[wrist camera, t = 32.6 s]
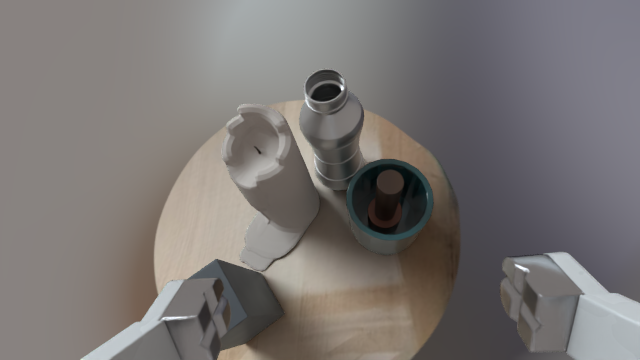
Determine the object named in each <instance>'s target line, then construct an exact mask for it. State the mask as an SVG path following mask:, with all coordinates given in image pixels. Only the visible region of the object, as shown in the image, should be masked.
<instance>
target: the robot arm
mask: <svg viewBox="0 0 640 360" xmlns="http://www.w3.org/2000/svg"><path fill="white" fill-rule="evenodd" d="M502 270H503V271H504V273H505V274H506V277H505V278H504V279H503V280H502V281H501V283H500V295H501V300H502V304H503V306H504V309H505V311H506V312H507V314H508V316H509V317H510V318H512V319H513V320H515V321H517V322H518V327H517V331H518V333H519V335H520V336H521V338H522V340H523V341H524V343H525V344H526V346H527V348H528V349H529V351H530V352H564V351H565V352H567V354H568V355H570V356H571V357H572V358H573V359H575V360H640V303H638V302H636V301H634V300H631V299H629V298H627V297H625V296H622V295H620V294H618V293H612V294H611V293H609V292H608V291H607V290H606V289H605V288H604V287H603V286H602V285H601V284H600V283H599V282H598V281H597V280H596V279H595V278H593V277H592V275H590V274H589V273H588V272H587V271H586V270H585V269H584V268H583V267H582V266H581V265H580V264H579V263H578V262H577V261H576V260H575V259H574V258H573V257H572V256H571V255H570V254H568V253H566V252H554V253H544V254H540V255H539V254H538V255H525V256H512V257H505V258H504V260H503V265H502ZM224 289H225V288H224V285H223V282H222V279H220V278H202V279H187V280H172V281H170V282H168V283H167V284H166V285H165V287H164V288H163V290H162V291H161V293H160V294H159V296H158V297H157V299H156V300H155V301H154V303H153V304H152V306H151V308H150V309H149V310H148V312H147V313H146V315H145V316H144V318H143V319H142V321H141V322H135V323H134V324H132V325H131V326H129V327H128V328H126V329H125V330H123V331H122V332H121V333H119V334H118V335H116V336H114V337H113V338H112V339H110V340H109V341H107V342H106V343H104V344H103V345H101V346H100V347H98V348H97V349H95V350H94V351H92V352H91V353H89V354H88V355H87V356H85V357H84V358H82V359H81V360H217V358H218V355H219V353H220V350H221V347H222V344H221V341H220V338H221V337H222V336H224V335H225V334H226V333H227V331H228V328H229V325H230V319H231V309H230V304H229V300H228V299H227V298H226V297H224V296H223V295H222V293H223V291H224Z"/></svg>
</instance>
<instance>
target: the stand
mask: <svg viewBox="0 0 640 360" xmlns="http://www.w3.org/2000/svg"><path fill="white" fill-rule="evenodd" d="M202 278H220V279H222V282H223V285H224V288H225V289H224V291H223V293H222V295H223V296H224V297H226V298H227V299H228V300H229V304H230V309H231V319H230V325H229V328H228V331H227V333H226V334H225V335H224V336H222V337H221V338H220V341H221V344H222V347H221V350H220V351H222V350H225V349H229V348H232V347H235V346H239V345H242V344H245V343H246V342H248V341H249V340H251V339H252V338H253V337H255V336H256V335H257V334H259V333H260V332H261V331H263V330H264V329H265V328H267V327H268V326H269V325H271V324H272V323H273V322H275V321H276V320H278V319H279V318H280V317H282V316H283V315H284V314H285V313H284V311H283V309H282V308H281V306H280V304H279V303H278V301H277V299H276V298H275V296H274V294H273V293H272V291H271V289H270V288H269V286H268V284H267V283H266V281H265V279H264V277H263V276H262V274H261V273H259V272H256V271H252V270H249V269H246V268H243V267H240V266H237V265H234V264H231V263H228V262H224V261H221V260H218V259H215V260H214V261H212V262H211V263H210V264H208V265H207V266H205V267H204V268H202V269H201V270H200V271H198V272H197V273H195V274H194V275H192V276H191V277H190V278H188V279H202Z"/></svg>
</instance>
